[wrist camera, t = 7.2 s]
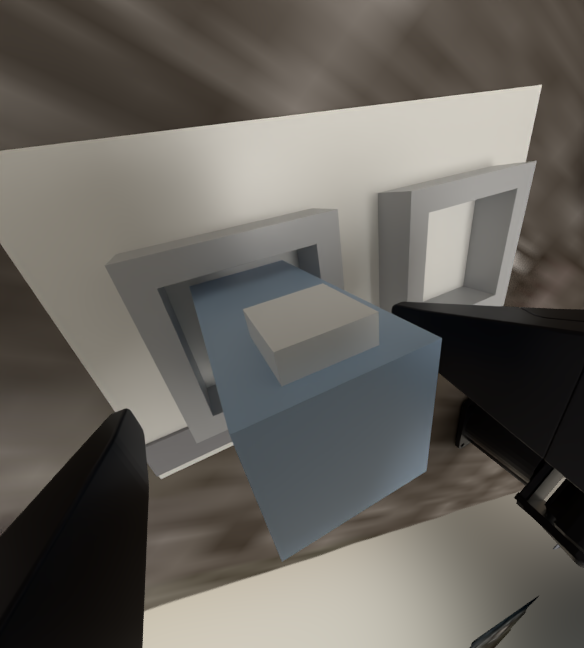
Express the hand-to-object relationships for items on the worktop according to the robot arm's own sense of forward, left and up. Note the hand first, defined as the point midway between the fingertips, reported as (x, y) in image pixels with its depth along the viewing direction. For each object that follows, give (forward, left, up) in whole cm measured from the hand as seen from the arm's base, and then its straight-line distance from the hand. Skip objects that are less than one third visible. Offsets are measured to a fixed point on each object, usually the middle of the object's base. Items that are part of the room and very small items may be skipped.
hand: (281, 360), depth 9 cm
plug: (0, 0, -4) cm, 4 cm away
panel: (0, -5, -5) cm, 7 cm away
